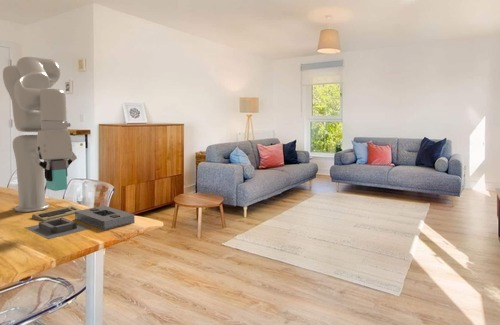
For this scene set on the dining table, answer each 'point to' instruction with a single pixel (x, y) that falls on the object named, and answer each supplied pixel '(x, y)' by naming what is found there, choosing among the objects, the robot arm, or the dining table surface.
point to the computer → (55, 213)
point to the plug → (58, 176)
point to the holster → (57, 228)
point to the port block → (104, 217)
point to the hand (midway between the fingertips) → (56, 179)
